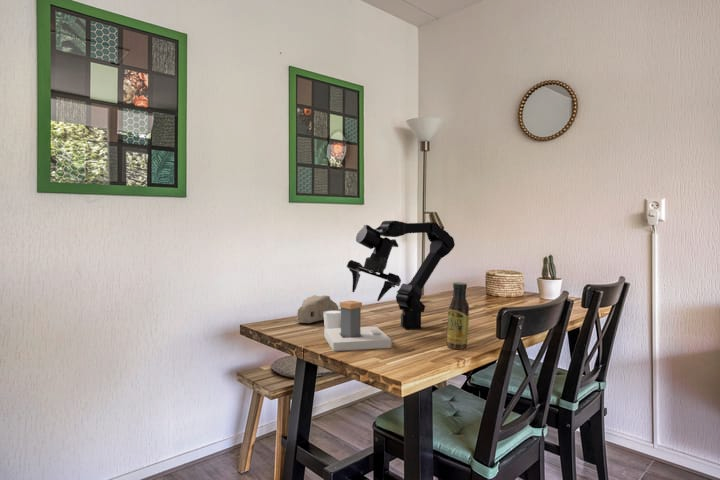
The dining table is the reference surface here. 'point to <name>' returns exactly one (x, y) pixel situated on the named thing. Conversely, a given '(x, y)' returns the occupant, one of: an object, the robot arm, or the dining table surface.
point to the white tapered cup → (332, 319)
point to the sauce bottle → (458, 318)
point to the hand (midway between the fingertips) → (365, 296)
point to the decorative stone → (315, 309)
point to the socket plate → (358, 339)
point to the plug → (350, 319)
